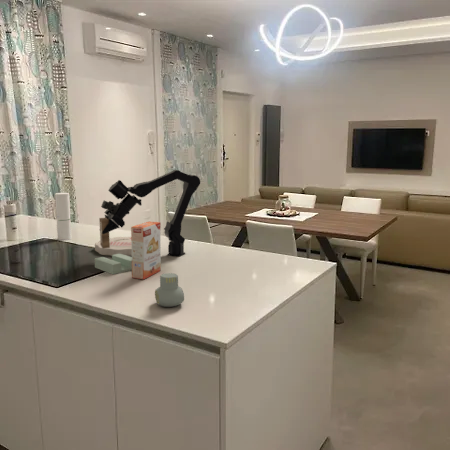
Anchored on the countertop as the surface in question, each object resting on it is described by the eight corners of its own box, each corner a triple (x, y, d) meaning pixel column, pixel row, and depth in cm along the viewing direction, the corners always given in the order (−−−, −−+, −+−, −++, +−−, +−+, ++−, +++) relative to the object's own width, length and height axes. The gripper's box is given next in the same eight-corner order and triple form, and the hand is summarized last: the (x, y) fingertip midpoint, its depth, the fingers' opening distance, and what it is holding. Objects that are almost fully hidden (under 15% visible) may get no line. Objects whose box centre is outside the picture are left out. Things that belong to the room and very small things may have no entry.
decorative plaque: (86, 248, 213) (108, 235, 243) (86, 255, 214) (108, 242, 243) (148, 250, 210) (163, 237, 240) (148, 258, 211) (163, 243, 240)
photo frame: (109, 247, 200) (108, 219, 198) (102, 248, 199) (101, 220, 196) (107, 244, 205) (106, 217, 203) (100, 245, 204) (99, 218, 202)
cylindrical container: (66, 236, 254) (63, 192, 250) (74, 238, 250) (71, 193, 246) (55, 238, 249) (52, 193, 244) (63, 240, 245) (60, 194, 240)
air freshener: (153, 300, 154) (153, 271, 153) (177, 297, 157) (177, 269, 155) (160, 311, 144) (160, 281, 143) (185, 308, 147) (185, 278, 145)
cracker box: (144, 280, 176) (143, 227, 173) (131, 278, 178) (129, 226, 175) (161, 270, 189) (161, 221, 185) (149, 269, 191) (148, 220, 188)
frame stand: (94, 267, 193) (94, 258, 193) (119, 262, 202) (119, 253, 201) (113, 274, 184) (112, 264, 183) (138, 268, 193) (138, 259, 192)
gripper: (108, 191, 208) (84, 217, 205) (116, 196, 191) (90, 223, 189) (126, 207, 212) (103, 232, 210) (135, 213, 196) (110, 240, 193)
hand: (101, 232), depth 200 cm, fingers closed on photo frame, 6 cm apart
